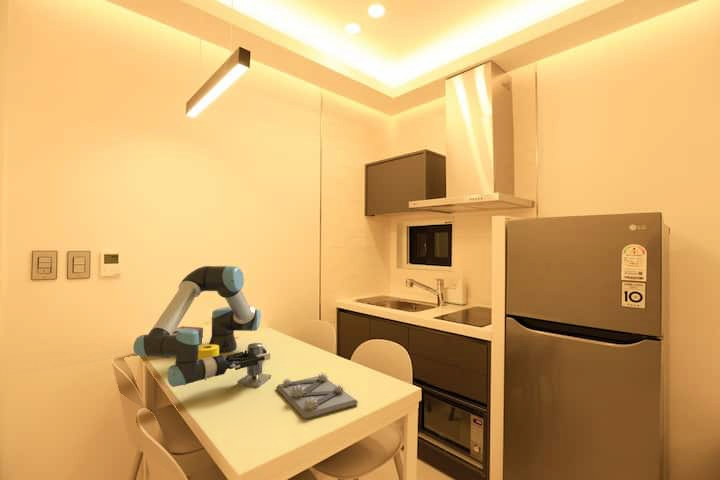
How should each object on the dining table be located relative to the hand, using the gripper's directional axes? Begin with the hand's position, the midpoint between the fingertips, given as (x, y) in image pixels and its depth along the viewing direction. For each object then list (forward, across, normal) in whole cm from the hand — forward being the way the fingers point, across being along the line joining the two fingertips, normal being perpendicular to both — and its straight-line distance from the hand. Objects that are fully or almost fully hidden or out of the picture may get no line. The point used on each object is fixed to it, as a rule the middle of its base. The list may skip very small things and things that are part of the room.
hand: (265, 354), depth 148 cm
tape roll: (-12, -32, -11) cm, 36 cm away
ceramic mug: (+9, -24, -11) cm, 28 cm away
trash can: (-5, 0, -7) cm, 9 cm away
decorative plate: (+4, +30, -11) cm, 32 cm away
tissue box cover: (-12, -73, -11) cm, 75 cm away
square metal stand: (-5, 0, -10) cm, 12 cm away
